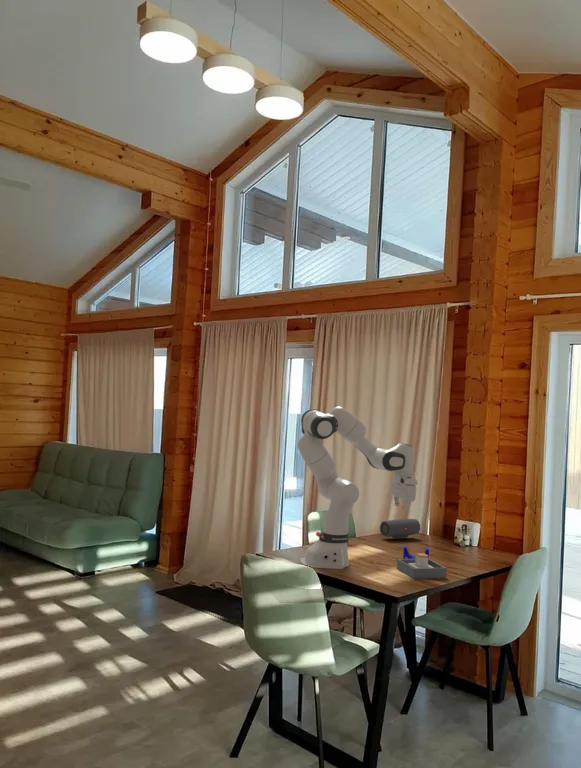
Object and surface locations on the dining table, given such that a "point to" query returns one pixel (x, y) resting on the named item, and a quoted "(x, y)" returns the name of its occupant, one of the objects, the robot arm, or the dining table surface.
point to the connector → (421, 560)
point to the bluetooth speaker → (400, 528)
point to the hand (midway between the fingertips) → (401, 507)
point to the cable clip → (409, 556)
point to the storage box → (421, 569)
